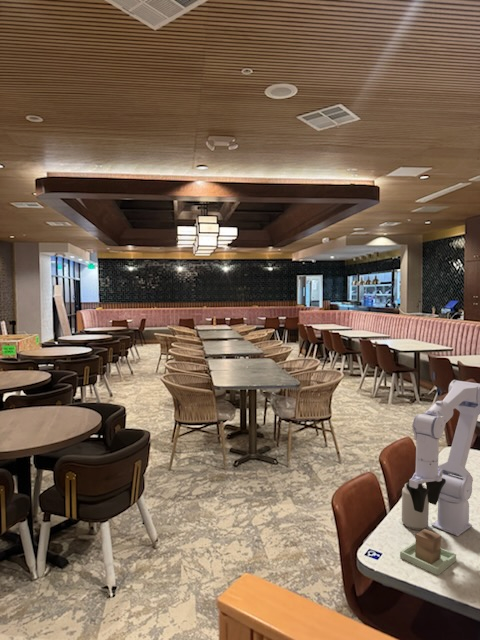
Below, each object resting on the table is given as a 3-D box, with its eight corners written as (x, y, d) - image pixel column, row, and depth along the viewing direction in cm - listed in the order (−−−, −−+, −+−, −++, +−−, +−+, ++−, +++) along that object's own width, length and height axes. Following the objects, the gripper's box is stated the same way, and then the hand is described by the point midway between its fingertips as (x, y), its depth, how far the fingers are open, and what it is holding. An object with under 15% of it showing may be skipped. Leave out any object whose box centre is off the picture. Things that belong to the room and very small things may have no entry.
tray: (419, 544, 125) (419, 539, 125) (456, 560, 118) (456, 554, 118) (400, 557, 119) (400, 551, 119) (437, 575, 111) (437, 568, 111)
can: (406, 516, 142) (407, 478, 141) (431, 524, 137) (432, 485, 137) (397, 525, 136) (398, 486, 136) (423, 533, 131) (424, 493, 131)
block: (424, 550, 122) (424, 528, 121) (440, 558, 118) (441, 535, 118) (415, 556, 119) (415, 534, 118) (431, 564, 115) (432, 541, 115)
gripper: (427, 468, 117) (426, 520, 117) (453, 456, 126) (452, 505, 127) (402, 460, 122) (401, 510, 123) (429, 450, 132) (428, 496, 132)
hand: (425, 507), depth 125 cm, fingers open, 7 cm apart
